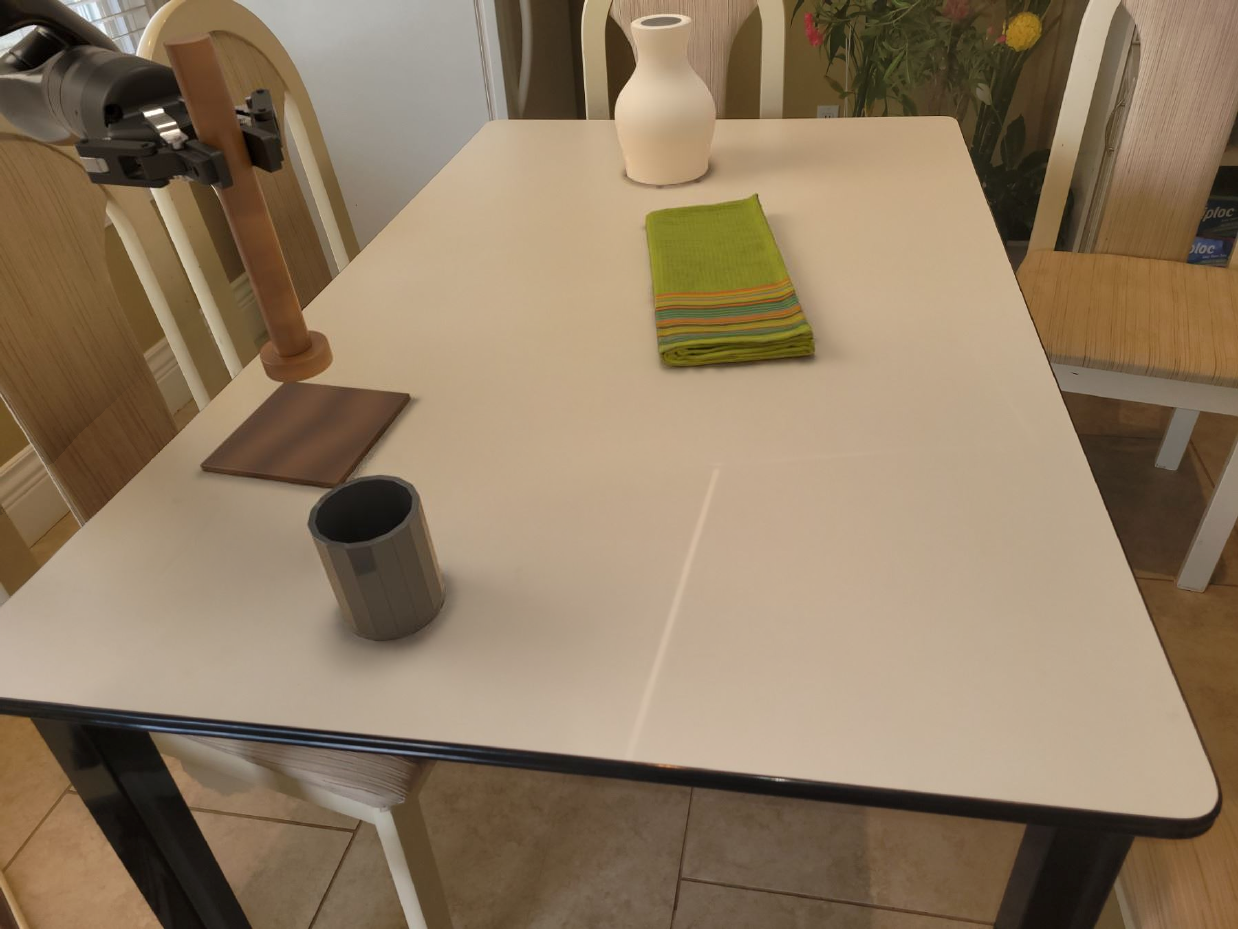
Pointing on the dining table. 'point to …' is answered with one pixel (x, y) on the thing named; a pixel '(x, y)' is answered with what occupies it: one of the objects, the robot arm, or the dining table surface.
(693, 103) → the vase
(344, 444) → the board
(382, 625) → the holder
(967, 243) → the dining table surface
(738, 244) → the dish towel
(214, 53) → the cylinder
